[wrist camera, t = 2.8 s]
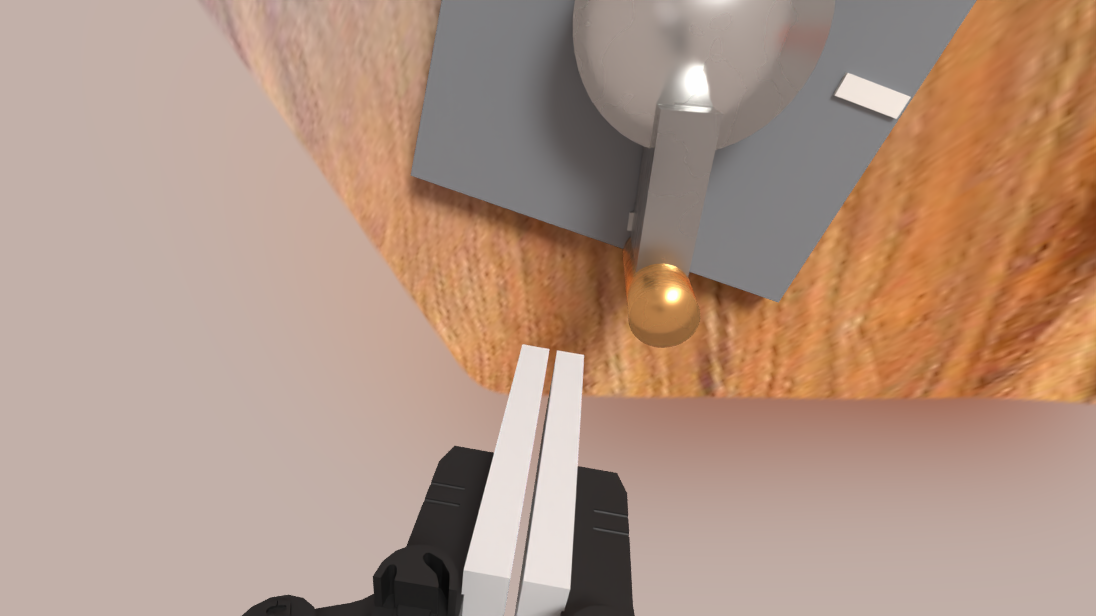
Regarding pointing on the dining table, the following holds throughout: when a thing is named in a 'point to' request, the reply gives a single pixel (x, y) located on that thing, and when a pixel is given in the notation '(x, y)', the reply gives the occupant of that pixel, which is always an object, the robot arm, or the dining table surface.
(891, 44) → the plate
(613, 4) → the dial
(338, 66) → the dining table surface
